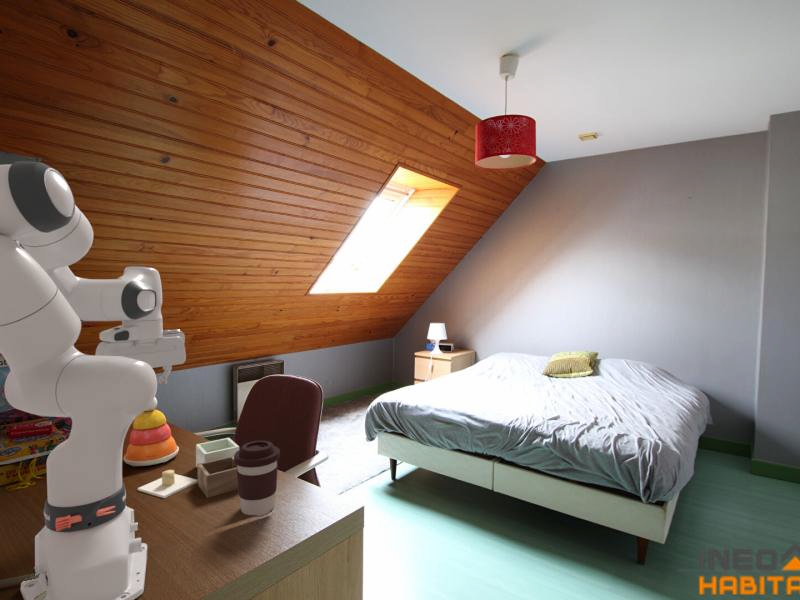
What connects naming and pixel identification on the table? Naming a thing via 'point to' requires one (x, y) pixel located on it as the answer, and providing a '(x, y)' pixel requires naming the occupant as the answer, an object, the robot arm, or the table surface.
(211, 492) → the box
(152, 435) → the stacking toy
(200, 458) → the planter
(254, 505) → the coffee cup
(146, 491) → the lid
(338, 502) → the table surface
